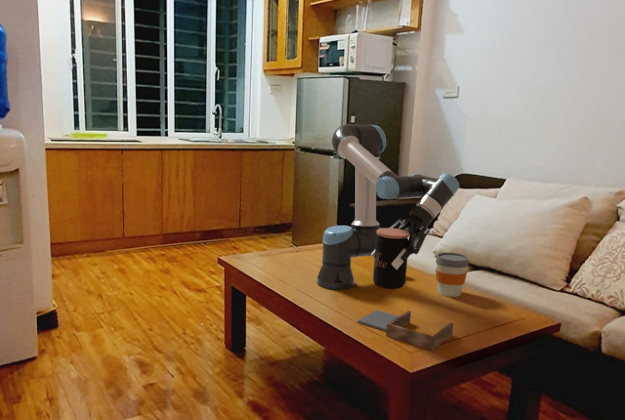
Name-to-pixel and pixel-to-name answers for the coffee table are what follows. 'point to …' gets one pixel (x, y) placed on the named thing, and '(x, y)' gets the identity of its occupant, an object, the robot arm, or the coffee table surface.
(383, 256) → the coffee jar
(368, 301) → the coffee table surface
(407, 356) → the coffee table surface
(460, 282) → the reusable coffee cup
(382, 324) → the charcoal mat
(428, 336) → the walnut holder
